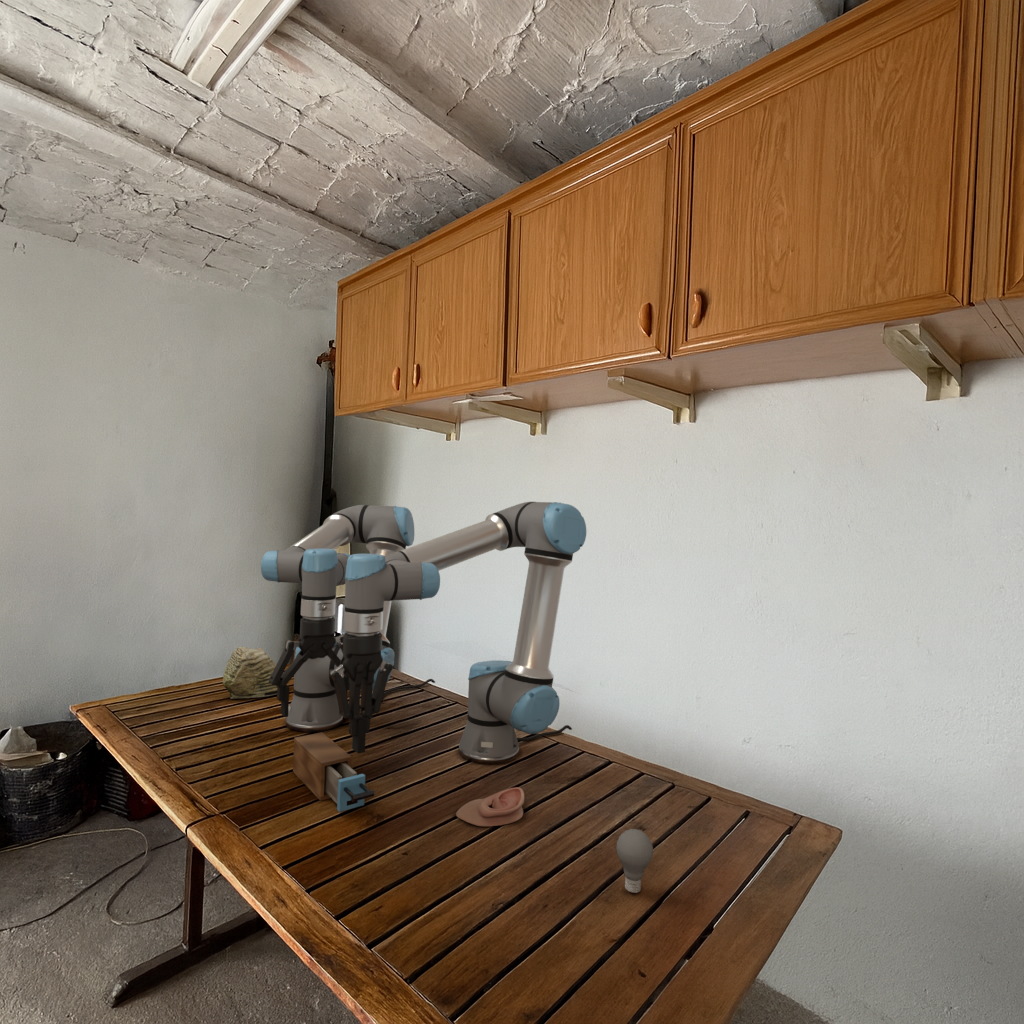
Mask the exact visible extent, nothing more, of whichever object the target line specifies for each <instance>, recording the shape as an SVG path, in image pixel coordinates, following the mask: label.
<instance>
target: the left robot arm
mask: <svg viewBox="0 0 1024 1024" xmlns="http://www.w3.org/2000/svg"><path fill="white" fill-rule="evenodd" d="M414 541H415V522H414V516H413V514H412V512H411V510H410V509H409V508H408V507H405V506H397V505H371V504H369V505H368V504H357V505H353V506H349V507H346V508H343V509H341V510H338V511H336V512H334V513H333V514H331V515H329V516H328V517H327V518H325V519H324V521H323V523H322V525H320V526H319V527H318V528H316V529H314V530H313V531H311V532H310V533H308V534H307V535H305V536H303V538H301V539H300V540H298V541H297V542H295V543H294V544H292V545H290V546H289V547H288V548H286V549H284V550H278V549H276V550H268V551H267V552H265V553H264V555H263V556H262V559H261V562H260V574H261V576H262V577H263V579H264V580H265V581H268V582H277V583H290V584H301V601H300V616H301V618H300V622H299V623H300V624H299V625H300V627H299V638H298V640H290V639H286V641H285V642H284V649H283V651H282V653H281V655H280V657H279V659H278V661H277V663H276V664H275V665H276V667H275V669H274V671H273V673H272V674H271V676H270V678H269V682H270V683H271V684H272V685H274V686H277V694H276V699H277V701H278V702H280V715H282V716H283V717H284V718H285V726H286V728H287V729H289V730H291V731H294V732H295V731H296V732H301V733H319V732H325V731H329V730H332V729H335V728H337V727H339V726H340V725H342V723H343V722H344V717H343V716H342V715H341V714H340V711H339V706H338V701H337V696H336V691H335V686H334V681H333V679H332V678H331V676H330V675H329V671H330V670H331V669H333V670H335V669H336V668H337V667H338V666H340V665H341V664H340V662H341V660H342V658H343V635H344V634H341V633H340V634H339V635H338V636H335V632H336V631H335V630H336V618H335V617H334V616H335V615H336V607H337V606H336V605H337V603H336V601H337V587H339V586H344V585H345V575H346V565H347V560H348V558H349V556H351V555H352V554H349V553H346V552H344V553H343V552H337V551H336V549H337V548H339V547H345V546H346V545H348V544H353V543H354V544H365V548H366V549H367V550H368V551H369V554H380V555H383V556H386V555H389V554H392V553H395V552H398V551H401V550H404V549H407V547H412V546H413V544H414ZM392 601H393V600H392ZM392 601H384V606H383V607H384V608H383V628H382V630H381V631H380V633H381V634H382V650H381V655H382V657H383V661H385V662H387V663H389V664H391V665H393V667H394V666H395V651H394V649H392V648H391V647H390V645H391V641H390V640H389V639H388V638H387V631H388V625H389V619H390V613H391V608H392V607H391V606H392V603H393V602H392ZM294 653H295V654H294ZM293 654H294V659H293V660H292V662H290V660H291V658H292V656H293ZM289 662H290V664H289ZM288 664H289V666H288ZM287 666H288V667H287ZM378 671H379V669H378V670H377V671H376V673H375V674H374V683H373V685H372V691H373V689H374V685H375V681H376V677H377V674H378ZM393 671H394V668H393V669H392V671H391V672H390V674H389V676H388V679H387V683H386V685H387V684H388V683H389V681H390V678H391V677H392V676H391V675H392V673H393ZM343 673H344V677H343V680H344V683H345V688H346V693H347V694H348V692H349V687H350V683H349V676H348V675H347V674H346V672H345V671H344V672H343ZM292 679H293V695H292V696H293V697H292V699H291V702H290V686H289V685H288V683H289V682H290V681H291V680H292ZM430 682H432V683H433V684H435V683H436V681H435V680H434V679H433V678H428V679H427V680H425V681H424V682H422V683H419V684H413V685H405V686H404V685H403V686H398V687H394V688H391V689H388V690H385V691H384V695H383V697H385V696H386V695H388V694H390V693H392V692H397V691H400V690H408V689H417V688H422V687H424V686H425V685H428V683H430ZM361 687H362V685H361V686H360V691H361ZM360 709H361V704H360Z"/></svg>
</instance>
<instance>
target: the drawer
mask: <svg viewBox="0 0 1024 1024" xmlns="http://www.w3.org/2000/svg"><path fill="white" fill-rule="evenodd" d="M324 791H325V792H326V793H327V794H328V795H329V796H330V797H331V798H330V799H332V801H333V802H334V803H336V811H338V812H339V813H342V812H344V811H345V812H346V811H348V810H352V809H355V808H359V807H363V806H365V799H369V798H372V797H374V796H375V791H374V790H373V789H369V787H367V786H366V774H364V773H360V774H358V772H357V771H355V770H354V769H353V768H352V766H351V767H350V766H348V765H347V764H346V763H345V762H340V763H336V764H332V765H327V766H325V781H324Z"/></svg>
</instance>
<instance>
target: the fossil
mask: <svg viewBox="0 0 1024 1024" xmlns="http://www.w3.org/2000/svg"><path fill="white" fill-rule="evenodd" d="M276 665H277V664H276V663H275V662H274V660H273V659H272V658H271V657H270V656H269V655H268V654H267V653H266V652H265V650H264V649H263V648H260V647H258V648H251V647H247V646H246V647H245V646H238V647H237V648H236V649H235V650H233V651H232V653H231V656H230V657H229V659H228V660H227V663H226V666H225V668H224V671H223V675H222V676H223V677H222V685H223V687H224V688H225V690H226V691H228V693H229V698H230V699H250V698H264V697H271V696H275V695H276V696H277V686H274V685H272V684H271V683H270V682H269V678H270V676H271V674H272V673H273V671H274V669H275V667H276Z"/></svg>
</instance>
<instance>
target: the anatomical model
mask: <svg viewBox="0 0 1024 1024" xmlns="http://www.w3.org/2000/svg"><path fill="white" fill-rule="evenodd" d="M524 803H525V792H524V790H523V789H522V788H521V787H518V786H517V787H511V788H507V789H504V790H501V791H498V792H495V793H493V794H491V795H489V796H487V797H484V798H479V799H478V798H477V799H474V800H473V799H472V800H471V801H468V802H467V803H465V804H463V805H462V806H461V807H459V808H458V810H457V811H456V813H455V817H457V818H458V819H460V820H461V821H464V822H466V823H468V824H471V825H473V826H474V825H475V826H476V827H497V826H503V825H508V824H511V823H515V822H517V821H519V820H520V819H521V818H522V817H523V816H524V808H523V806H524Z"/></svg>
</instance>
